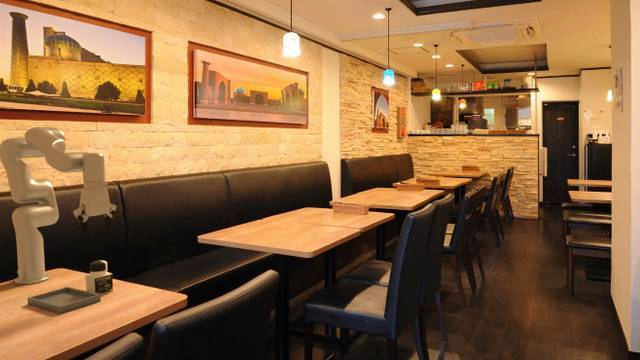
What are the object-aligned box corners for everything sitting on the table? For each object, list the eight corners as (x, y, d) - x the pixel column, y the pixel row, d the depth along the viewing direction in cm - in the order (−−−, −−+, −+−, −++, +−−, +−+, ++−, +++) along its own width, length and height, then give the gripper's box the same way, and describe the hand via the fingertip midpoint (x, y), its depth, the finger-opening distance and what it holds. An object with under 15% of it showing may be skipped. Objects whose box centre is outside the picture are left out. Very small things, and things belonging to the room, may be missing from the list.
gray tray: (27, 304, 170) (27, 297, 169) (68, 292, 182) (68, 286, 182) (60, 314, 159) (59, 307, 159) (100, 301, 172) (100, 294, 172)
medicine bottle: (95, 296, 178) (93, 264, 177) (86, 292, 182) (84, 262, 181) (113, 291, 184) (112, 261, 183) (103, 288, 188) (102, 258, 187)
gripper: (108, 183, 189) (110, 225, 190) (66, 187, 174) (69, 233, 175) (120, 184, 185) (122, 227, 186) (78, 187, 170) (81, 234, 172)
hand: (96, 230), depth 181 cm, fingers open, 9 cm apart
